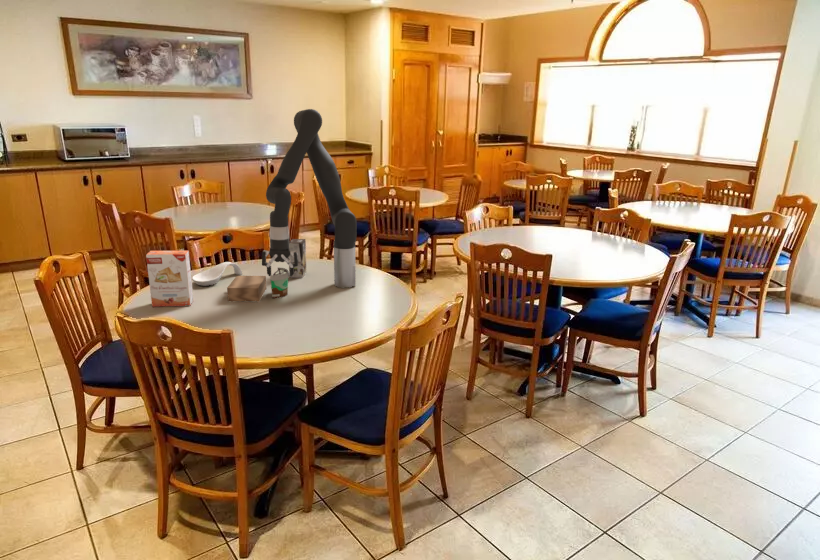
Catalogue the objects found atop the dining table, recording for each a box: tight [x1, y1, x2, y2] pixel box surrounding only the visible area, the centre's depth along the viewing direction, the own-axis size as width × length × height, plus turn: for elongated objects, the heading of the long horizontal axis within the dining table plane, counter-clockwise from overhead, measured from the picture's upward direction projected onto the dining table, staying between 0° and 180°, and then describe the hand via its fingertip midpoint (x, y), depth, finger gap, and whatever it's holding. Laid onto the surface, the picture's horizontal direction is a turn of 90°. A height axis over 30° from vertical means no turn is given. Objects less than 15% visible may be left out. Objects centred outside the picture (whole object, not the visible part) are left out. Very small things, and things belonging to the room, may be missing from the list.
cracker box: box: [145, 250, 194, 308], centre depth 204 cm, size 14×6×21 cm, turn 99°
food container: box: [269, 267, 290, 299], centre depth 219 cm, size 12×6×10 cm, turn 179°
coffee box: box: [288, 238, 308, 279], centre depth 245 cm, size 9×6×16 cm
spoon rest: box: [191, 261, 243, 287], centre depth 236 cm, size 24×12×7 cm, turn 150°
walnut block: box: [226, 275, 267, 303], centre depth 219 cm, size 12×16×6 cm
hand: (280, 275), depth 219 cm, fingers open, 8 cm apart
